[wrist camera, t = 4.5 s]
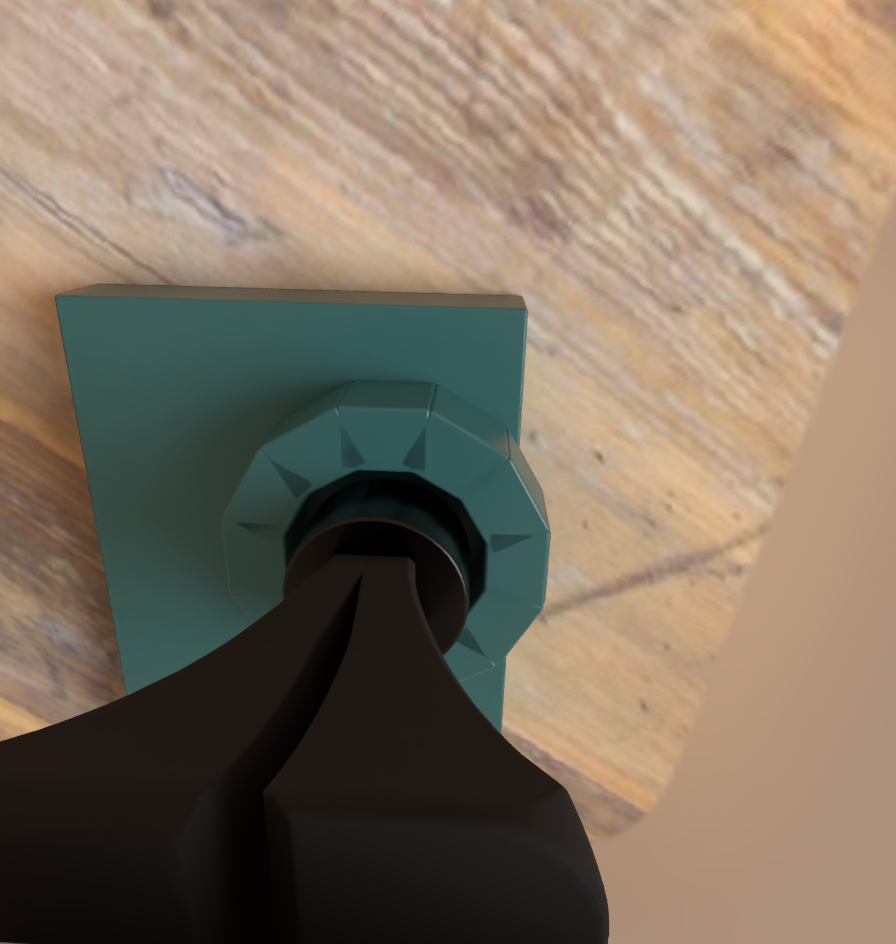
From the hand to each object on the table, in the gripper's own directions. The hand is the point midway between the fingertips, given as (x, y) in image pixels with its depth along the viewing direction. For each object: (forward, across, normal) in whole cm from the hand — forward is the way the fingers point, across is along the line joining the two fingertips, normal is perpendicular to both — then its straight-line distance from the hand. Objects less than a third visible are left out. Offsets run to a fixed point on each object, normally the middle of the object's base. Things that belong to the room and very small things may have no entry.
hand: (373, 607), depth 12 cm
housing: (+5, +2, +2) cm, 6 cm away
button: (+2, 0, 0) cm, 2 cm away
